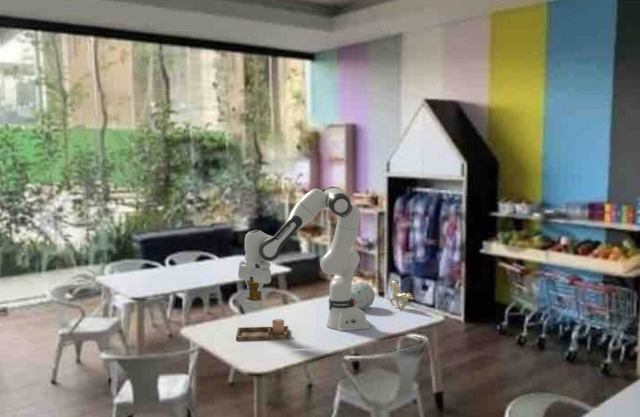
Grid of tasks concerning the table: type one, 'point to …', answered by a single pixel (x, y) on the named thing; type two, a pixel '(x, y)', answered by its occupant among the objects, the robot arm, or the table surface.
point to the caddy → (260, 333)
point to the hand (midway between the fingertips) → (254, 290)
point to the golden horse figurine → (399, 295)
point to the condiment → (253, 291)
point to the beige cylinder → (278, 327)
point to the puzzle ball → (362, 295)
